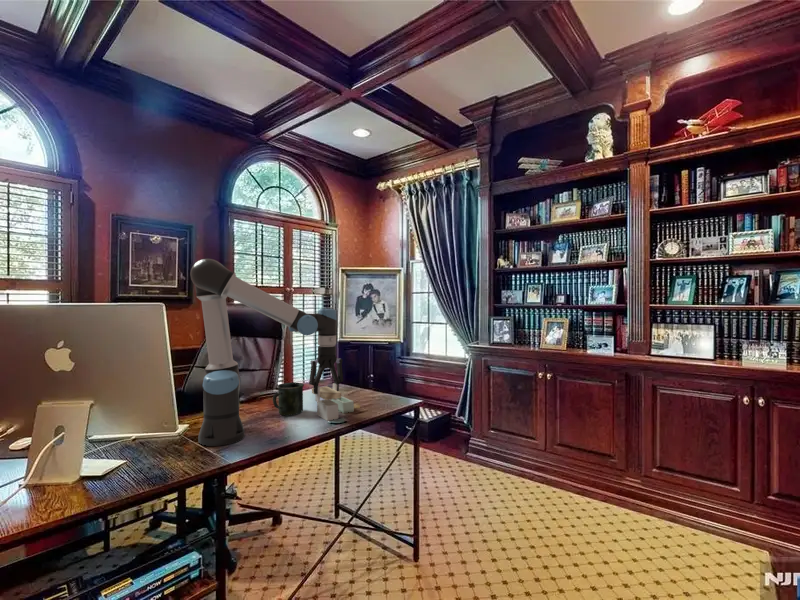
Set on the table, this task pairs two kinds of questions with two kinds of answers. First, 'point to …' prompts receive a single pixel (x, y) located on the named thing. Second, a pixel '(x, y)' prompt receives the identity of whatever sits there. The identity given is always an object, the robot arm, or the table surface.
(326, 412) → the light grey rectangular block
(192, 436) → the table surface
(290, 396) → the mug
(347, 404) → the dish
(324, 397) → the lid
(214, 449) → the table surface
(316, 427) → the table surface
